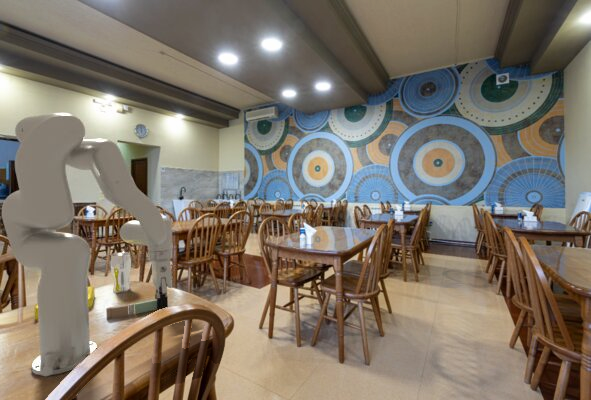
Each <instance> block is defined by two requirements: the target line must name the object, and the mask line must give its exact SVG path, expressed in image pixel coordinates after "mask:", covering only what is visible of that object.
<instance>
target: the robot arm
mask: <svg viewBox="0 0 591 400" xmlns="http://www.w3.org/2000/svg"><path fill="white" fill-rule="evenodd" d="M14 133H15V137H16V139H17V141H18V142H19V143H20V144H19V146H18V148H17V151H16V154H15V158H14V170H15V171H14V172H15V174H16V180H17V184H18V185H17V186H18V190H16V191H14V192H12V193H11V194H9V195H8V196H7V197H6V198H5V200H4V201H3V203H2V205H1V206H2V207H1V219H2V221H3V222H2V223H3V225H4V229H5V233H6V235H7V239H8V242H9V245H10V249H11V251H12V254H13V256H14V258H15V260H16V261H17V262H18V263H19V264H20V265H21V266H23V267H25V268H29V269H33V270H38V271H41V275H40V278H39V283H38V284H37V291H36V300H37V303H36V305H37V304H38V320H37V321H38V336H39V337H38V339H39V356H37V357H36V358H35V359H34V360H33V362H32V363H31V371H32V373H33V374H35V375H37V376H42V377H49V376H53V375H59V374H62V373H63V374H64V373H67V372H69V371H72V370H74V368H75V367H76V366H77V365H78V364H79V363H81V362H82V361H83V360H84V359H85V358H86V357H87V356H88V355H90V354H91V353H92V352H93V351H94V350H95V349H96V348H97V349H98V344H97V343H96V342H94V341H92V340H91V339H90V338H91V337H90V315H89V313H90V311H89V309H88V287H89V286H88V285H89V284H88V279H89V278H88V277H89V275H88V274H89V267H90V263H91V256H92V253H91V246H90V245H89V242H87V240H86V239H85V238H83V237H82V236H80V235H77V234H74V233H69V232H61V231H57V230H58V229H63V228H65V227H67V226H68V225H70V224H72V222H73V220H74V218H75V205H74V201H73V197H72V194H71V190H70V187H69V185H70V184H69V181H68V178H67V169H66V166H68V167H71V168H74V169H77V170H82V171H91V173H92V175H93V178H95V181H96V183H97V185H98V187H99V189H100V191H101V192H102V194H103V196H104V198H105V200H107V201H109V202H110V203H111V204H112V205H115V206H117V207H118V208H121V209H122V210H124V211H127V212H128V213H129V215H130V214H131V216H133V217H134V220H129V221H127V222H125V223H124V224H123V225H121V227H120V229H119V236H120V238H121V240H122V241H123V242H125V243H127V244H130V245H139V246H147V260H148V262H151V274H152V275H151V277H152V284H153V287H154V288H155V295H154V298H155V299H157V310H158V311H159V309H162V308H165V307H167V308H168V307H169V305H168V302H169V301H168V300H169V299H168V288H169V289H172V287H173V281H172V279H173V278H172V277H173V276H172V266H171V265H172V264H171V259H173V222H172V220H171V219H170V218H168V217H167V218H166V217H163V216H162V213H161V212H160V209H159V208H158V206H157V205H155V203H154V202H153V201H152V200H151V199H150V198H149V197H148V196H147V195H146V194H144V192H142V191H141V190H140V189H139V187H137V185H136V183H135V181H134V178H133V176H132V174H131V171H130V169H129V168H128V165H127V162H126V161H125V158H124V156H123V154H122V152H121V148H120V147H119V145H117V143H115V142H113V140H110V139H105V138H94V139H93V138H91V139H85V136H86V128H85V125H84V123H83V122H82V120H81V119H80V118H78V117H77V116H76V115H73V114H70V113H67V112H53V113H46V114H39V115H32V116H27V117H24V118H22V119H21V120H20V121H18V122H17V124H16V125H15V129H14ZM135 219H136V220H135ZM160 291H162V292H160ZM157 292H158V298H157ZM155 299H154V300H155ZM165 309H166V308H165ZM162 310H163V309H162ZM75 369H76V368H75Z"/></svg>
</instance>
